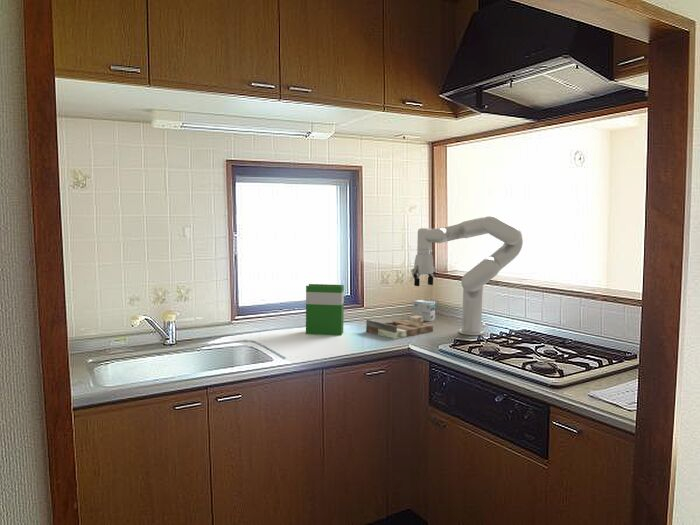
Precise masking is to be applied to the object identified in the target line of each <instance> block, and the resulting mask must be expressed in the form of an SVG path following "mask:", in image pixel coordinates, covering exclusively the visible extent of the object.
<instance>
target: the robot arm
mask: <svg viewBox="0 0 700 525" xmlns="http://www.w3.org/2000/svg"><path fill="white" fill-rule="evenodd" d="M486 234H487V235H488V234H489V235H490V236H492V237H494V238H495V239H497V240H499V241H501V242H503V244H502V245H501V246H500V247H499V248H498V249H496V251H494V252H493V253H491V255H489V256H488V257H486V258H483V260H481V261H480V262H479V263H477V264H476V265H475V266H473V268H471V269H470V270H469V271H467V272H466V273H465V274H464V275H462V277H461V280H460V283H461V286H462V288H463V289H462V290H463V291H462V310H461V311H462V312H461V317H462V318H461V328H459V329H458V333H459V334H461V335H466V336H482V335H485V330H483V328H486V326H487V325H486V323H482V318H483V317H482V316H483V314H482V313H483V310H482V309H483V294H484V293H483V289H484V286H485V285H486V284H487V283H489V281H491V280H493V279H494V278H495V277H496V276H497V275H498V273H500V271H501V270H503V268H504V267H506V266H507V265H508V264H510V262H512V261H513V260H514V259H516V258H517V256H519V254H520V252H521V250H522V247H523V241H524V240H523V234H522V231H521V230H520V229H519V228H518V227H515V226H513V225H511V224H509V223H507V222H506V221H503V220H502V219H500V218H499V217H497V216H496V215H494V214H492V215H491V214H489V215H486V216H481V217H478V218H472V219H469V220H464V221H462V222H459V223H457V224H454V225H449V226H444V227H440V228H439V227H438V228H426V227H425V228H422V227H421V228H418V230H417V245H416V246H417V248H416V255H415V257H414V258H415V259H414V263H413V264H414V265H413V266H414V267H413V268H412V269H411V270H410V272H411V275H412V277H413V280H414V284H413V285H414V286H415V287H420V282H421V280H420V277H421V276H423V275H427V276H428V277H427V285H430V286H433V285H434V278H435V276H436V272H437V270H438V269H437V268H436V267H435V266H434V259H433V252H434V251H433V244H434V243H435V244H443V243H447V242H450V241H455V240H459V239H469V238H474V237H478V236H482V235H486Z"/></svg>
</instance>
